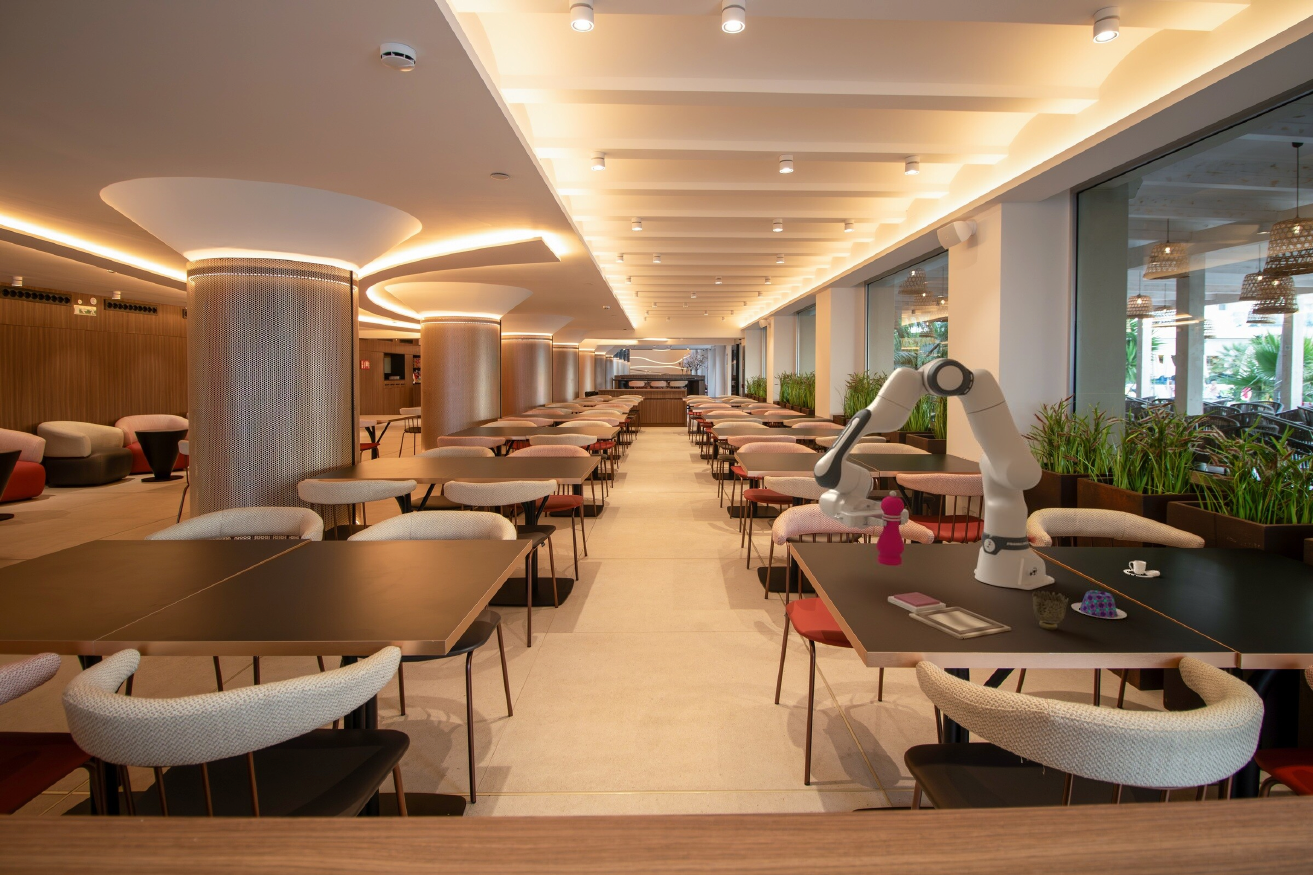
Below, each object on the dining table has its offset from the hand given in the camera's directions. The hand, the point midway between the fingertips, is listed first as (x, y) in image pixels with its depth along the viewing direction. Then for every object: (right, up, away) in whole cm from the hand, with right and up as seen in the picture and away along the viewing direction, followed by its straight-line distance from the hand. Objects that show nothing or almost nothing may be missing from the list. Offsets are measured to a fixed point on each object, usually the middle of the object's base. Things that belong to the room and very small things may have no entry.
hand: (893, 522), depth 187 cm
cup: (+29, -23, -22) cm, 43 cm away
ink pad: (+3, -21, -7) cm, 22 cm away
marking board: (+9, -22, -20) cm, 31 cm away
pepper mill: (-1, -11, +2) cm, 12 cm away
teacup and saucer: (+85, -20, +23) cm, 90 cm away
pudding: (+49, -22, -10) cm, 55 cm away
